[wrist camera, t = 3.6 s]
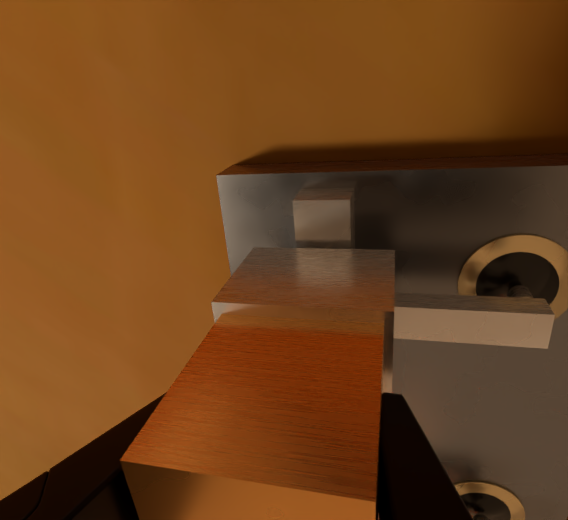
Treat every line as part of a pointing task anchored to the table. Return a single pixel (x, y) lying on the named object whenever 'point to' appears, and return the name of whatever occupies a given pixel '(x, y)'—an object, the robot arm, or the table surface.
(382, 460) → the robot arm
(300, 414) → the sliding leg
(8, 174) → the table surface
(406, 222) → the bolt plate
